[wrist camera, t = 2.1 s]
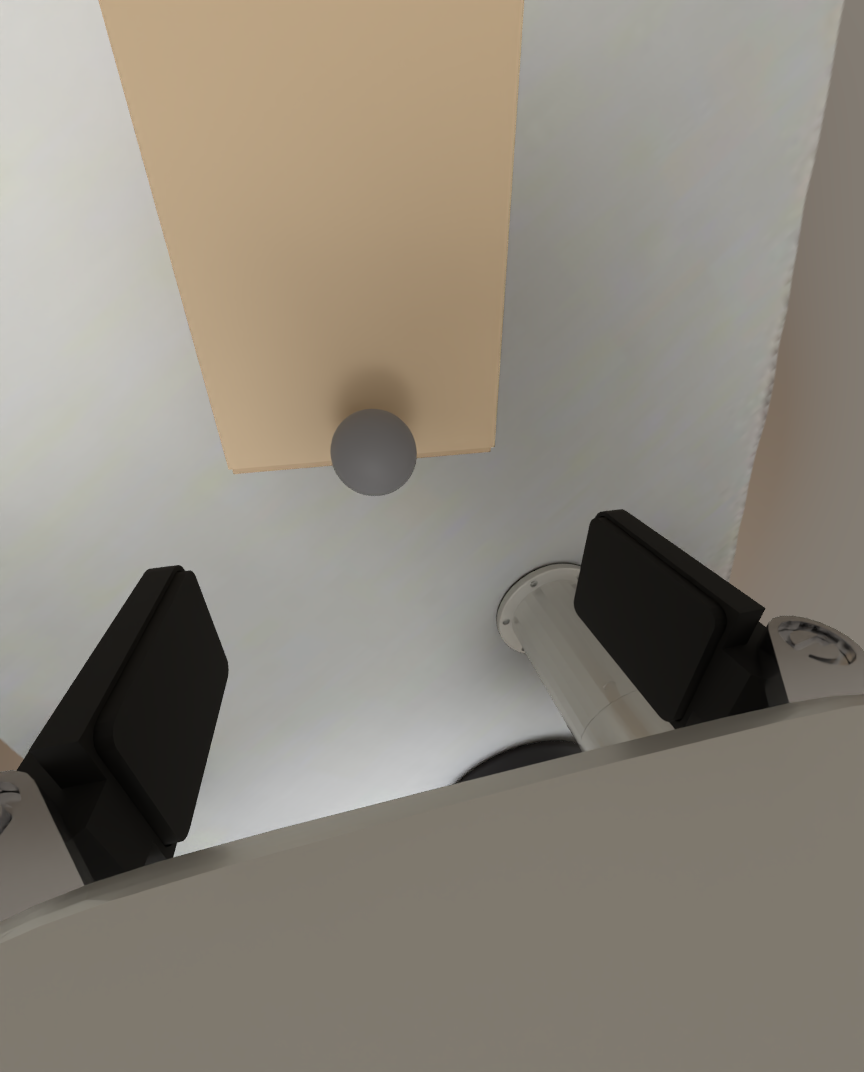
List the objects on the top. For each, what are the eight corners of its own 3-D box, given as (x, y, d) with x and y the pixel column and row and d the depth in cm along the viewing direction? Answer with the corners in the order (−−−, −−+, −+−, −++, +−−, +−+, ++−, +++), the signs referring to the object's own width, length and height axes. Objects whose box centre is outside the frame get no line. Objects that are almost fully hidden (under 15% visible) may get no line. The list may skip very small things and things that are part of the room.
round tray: (479, 857, 77) (620, 783, 75) (490, 897, 72) (641, 818, 70) (398, 800, 61) (573, 704, 59) (404, 845, 56) (596, 741, 54)
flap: (526, -134, 14) (648, -399, 9) (490, 452, 25) (535, 493, 20) (40, -230, 12) (-209, -696, 6) (233, 474, 22) (203, 529, 17)
